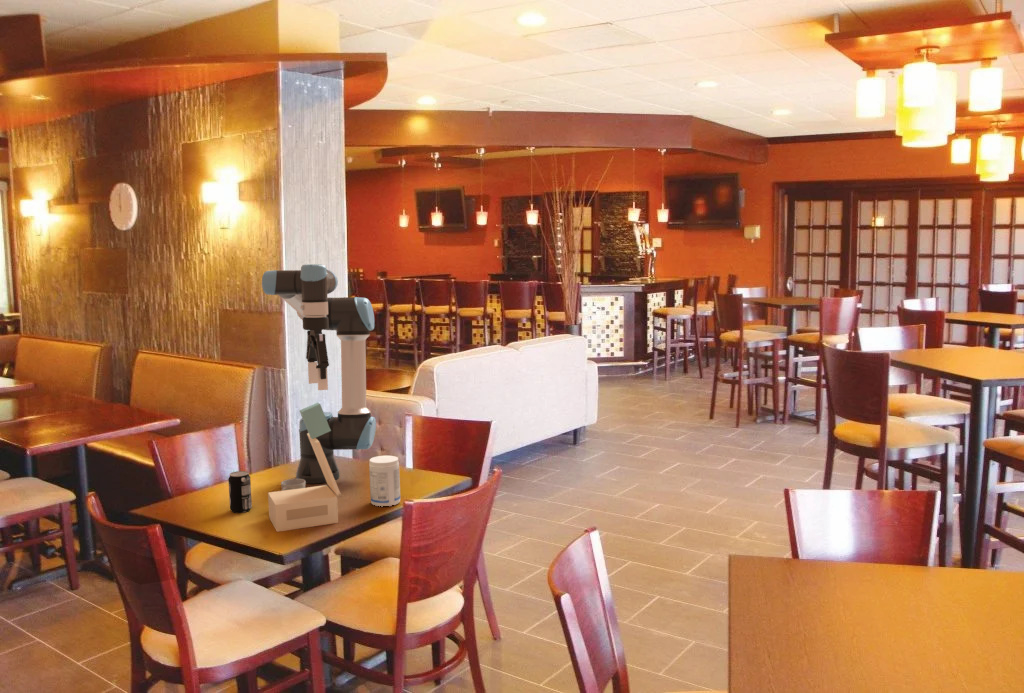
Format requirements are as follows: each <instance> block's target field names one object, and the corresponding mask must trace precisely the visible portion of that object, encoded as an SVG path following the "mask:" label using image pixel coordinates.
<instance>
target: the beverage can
mask: <svg viewBox="0 0 1024 693" xmlns="http://www.w3.org/2000/svg"><path fill="white" fill-rule="evenodd" d="M227 481H228V496H229V498H228V499H229V510H230V511H231V512H232V513H235V514H242V513H247V512H249V511H250V510H251V509H252V507H253V505H252V504H253V503H252V484H251V483H252V482H251V476H250V474H249V471H247V470H239V471H238V470H237V471H233V472H230V473H229V477H228V480H227Z"/></svg>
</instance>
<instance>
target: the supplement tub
mask: <svg viewBox="0 0 1024 693" xmlns="http://www.w3.org/2000/svg"><path fill="white" fill-rule="evenodd" d="M368 461H369V463H368V464H369V466H368V472H369V488H370V493H369V494H370V503H371V505H373V506H374V505H375V507H378V506H379V508H384V507H383V506H389V507H393V506H392V505H394V506H396V505H398V504H399V503H400V502H401V482H400V481H401V480H400V479H401V478H400V477H401V476H400V462H399V457H398V456H395V455H378V456H373V457H371V458H369V460H368ZM380 506H381V507H380Z"/></svg>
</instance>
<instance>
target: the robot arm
mask: <svg viewBox="0 0 1024 693" xmlns="http://www.w3.org/2000/svg"><path fill="white" fill-rule="evenodd" d="M261 278H262V279H261V288H262V290H263V293H264V294H265V295H269V296H270V295H271V296H279V298H281V299H282V300H283V301H284V302H285V303H287V305H289V306H290V307H291V308H292V309H293V310H295V311H296V314H297V316H298V317H299V319H300V320H301V321H302V329H303V330H305V331H307V332H306V335H307V340H306V353H305V354H306V355H305V359H306V360H307V369H308V370H307V372H308V374H307V375H308V384H317V391H326V390H327V391H328V390H329V387H328V386H329V384H328V382H329V381H328V367H329V365H330V363H329V356H328V350H327V344H326V342H327V341H326V334H325V333H323V332H322V331H324V330H325V331H336V337H337V338H338V339H339V340H340V360H341V361H340V362H341V363H340V364H341V365H340V366H341V368H340V369H341V370H340V371H341V372H340V374H341V408H340V409H339V411H338V412H337V416H334V415H333V412H330V411H325V412H324V411H323V412H324V415H325V417H326V420H327V422H328V425H329V427H330V430H331V431H330V432H327V433H325V434H323V435H321V436H318V437H316V439H317V440H318V441H319V442H320V445H321V447H322V449H323V452H324V454H325V457H326V459H327V462H328V464H329V467H330V469H331V472H332V474H333V476H334V479H335V481H336V480H338V479H339V478H340V469H339V466H338V464H337V462H336V458H335V454H334V452H335V451H334V450H336V451H338V450H341V451H343V450H346V451H347V450H356V451H359V450H362V451H363V450H368V449H370V448H371V447H372V445H373V444H374V441H375V436H376V430H377V422H376V420H377V419H376V417H374V416H372V412H371V410H370V409H369V408H368V407H367V369H366V368H367V362H366V361H367V359H366V358H367V357H366V356H367V355H366V354H367V352H366V348H367V347H366V341H367V339H368V338H369V337H370V336H371V334H370V331H373V330H374V329H375V321H376V320H375V313H374V308H373V305H372V302H371V301H370V300H369V298H366V297H360V296H358V297H357V296H354V297H353V296H352V297H351V296H349V297H346V296H345V297H328V295H329V294H331V293H333V292H334V291H335V290H336V289H337V286H338V285H339V284H338V282H339V280H338V277H337V275H336V274H335V273H334V272H333V271H331V270H330V269H329V270H328V269H327V266H326V265H325V264H323V263H321V264H318V263H317V264H316V263H313V264H302V265H301V267H300V269H299V270H298V269H297V270H296V269H295V270H293V269H292V270H291V269H290V270H289V269H288V270H286V269H285V270H279V269H278V270H276V269H275V270H274V269H273V270H266V271H264V272H263V274H262V277H261ZM298 422H299V424H298V426H299V429H298V432H299V452H300V459H299V463H298V466H297V470H296V474H295V476H296V477H295V479H304V480H305V481H306V483H305V484H311V485H312V484H313V485H314V484H324V483H327V482H326V479H325V477H324V474H323V472H322V469H321V467H320V465H319V462H318V460H317V457H316V455H315V452H314V450H313V448H312V445H311V443H310V440H309V438H308V435H307V433H308V430H307V428H306V425H305V423H304V421H303V418H302V417H301V418H300V419H299V421H298Z"/></svg>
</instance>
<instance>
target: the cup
mask: <svg viewBox="0 0 1024 693" xmlns="http://www.w3.org/2000/svg"><path fill="white" fill-rule="evenodd" d="M306 484H307V483H306V481H305V480H304V479H296V478H290V479H285V480H282V481H281V482H280V486H281V490H280V491H284V490H292V489H300V488H306Z"/></svg>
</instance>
